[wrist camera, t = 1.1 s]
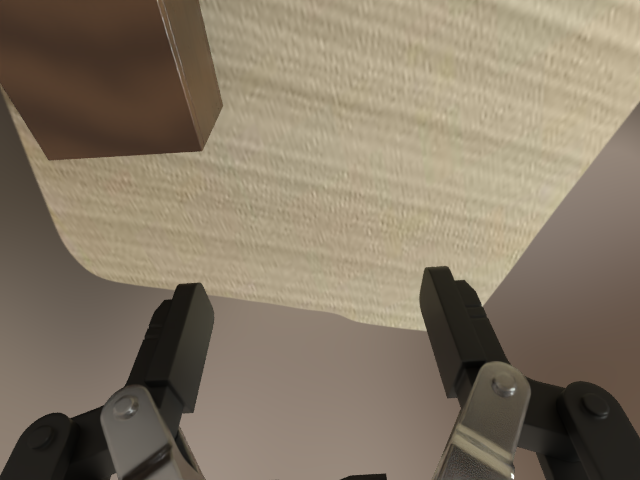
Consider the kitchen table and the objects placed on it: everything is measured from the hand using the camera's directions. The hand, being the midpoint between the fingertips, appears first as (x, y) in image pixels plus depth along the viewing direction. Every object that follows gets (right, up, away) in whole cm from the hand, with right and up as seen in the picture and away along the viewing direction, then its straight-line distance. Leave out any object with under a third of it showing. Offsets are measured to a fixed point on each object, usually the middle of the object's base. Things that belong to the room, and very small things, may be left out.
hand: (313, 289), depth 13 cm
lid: (-14, +14, +8) cm, 21 cm away
